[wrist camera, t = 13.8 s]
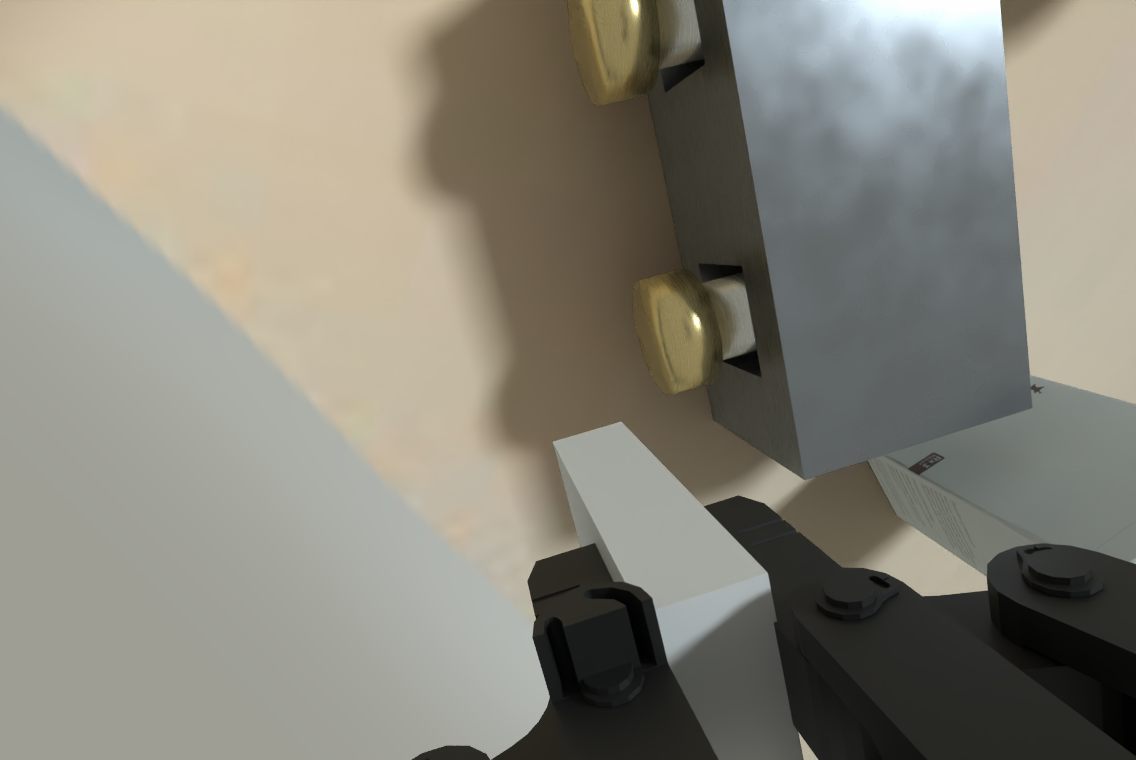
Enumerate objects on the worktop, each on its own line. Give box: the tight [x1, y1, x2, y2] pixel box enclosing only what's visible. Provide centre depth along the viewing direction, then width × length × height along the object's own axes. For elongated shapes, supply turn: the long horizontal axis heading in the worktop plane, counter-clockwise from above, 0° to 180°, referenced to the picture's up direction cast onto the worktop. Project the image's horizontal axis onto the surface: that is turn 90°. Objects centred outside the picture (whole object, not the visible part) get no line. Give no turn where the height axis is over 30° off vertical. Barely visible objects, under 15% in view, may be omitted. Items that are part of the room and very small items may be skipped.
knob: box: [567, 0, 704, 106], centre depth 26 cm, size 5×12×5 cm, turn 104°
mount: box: [648, 0, 1032, 480], centre depth 27 cm, size 24×10×9 cm, turn 14°
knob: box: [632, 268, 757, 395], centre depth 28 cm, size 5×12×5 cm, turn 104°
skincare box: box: [867, 375, 1136, 576], centre depth 29 cm, size 8×6×15 cm
